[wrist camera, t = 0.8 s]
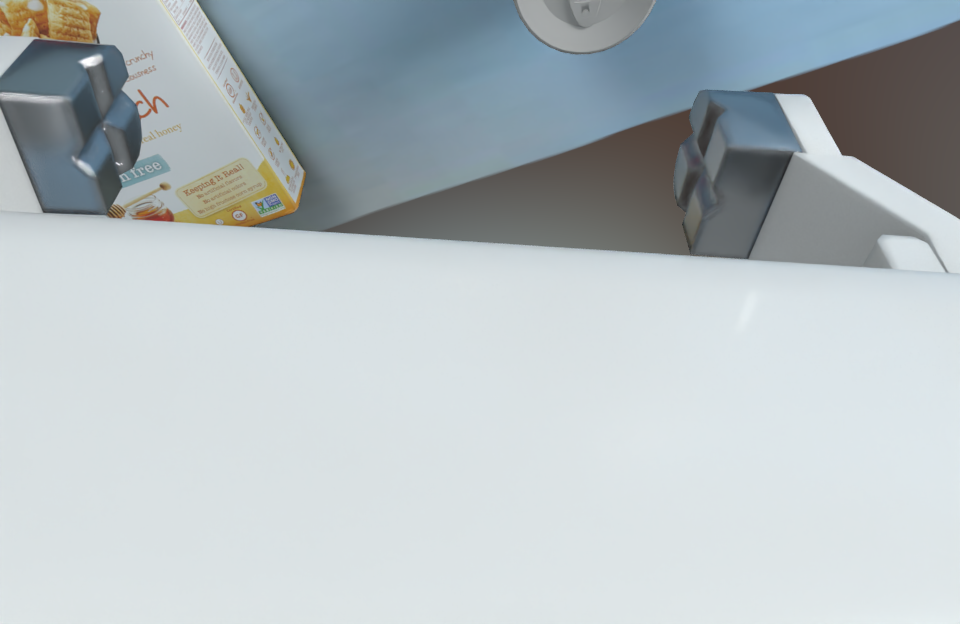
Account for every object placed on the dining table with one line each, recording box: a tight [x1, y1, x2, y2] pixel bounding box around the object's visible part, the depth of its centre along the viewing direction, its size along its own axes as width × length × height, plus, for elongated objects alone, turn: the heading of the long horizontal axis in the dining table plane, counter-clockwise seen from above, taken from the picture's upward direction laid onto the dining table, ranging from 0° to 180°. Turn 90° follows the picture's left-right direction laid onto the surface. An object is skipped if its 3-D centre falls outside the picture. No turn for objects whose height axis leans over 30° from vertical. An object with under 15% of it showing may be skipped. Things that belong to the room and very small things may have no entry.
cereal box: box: [0, 0, 306, 227], centre depth 52 cm, size 20×6×28 cm
